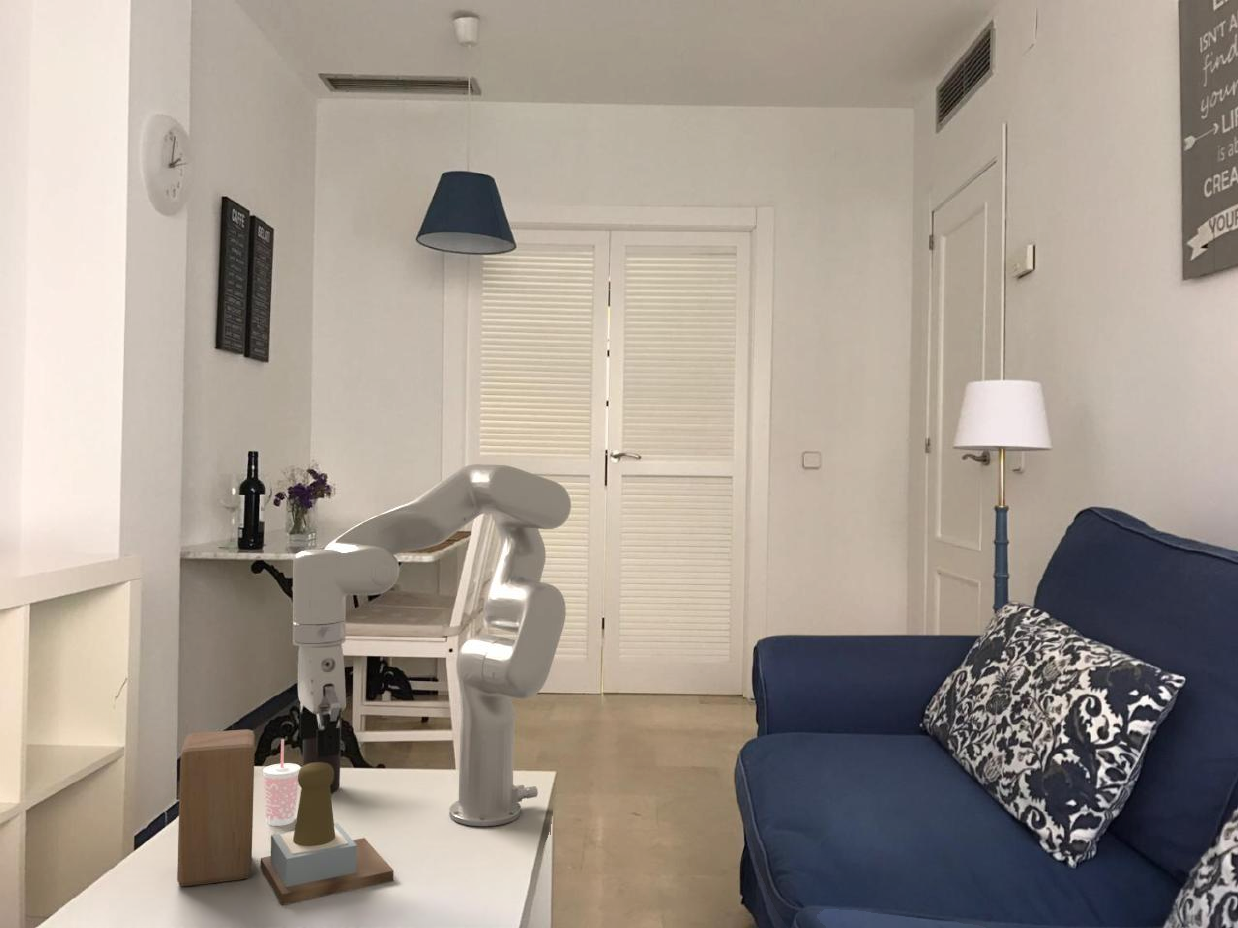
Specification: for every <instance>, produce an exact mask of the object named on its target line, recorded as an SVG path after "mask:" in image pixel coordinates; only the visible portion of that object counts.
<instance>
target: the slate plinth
mask: <svg viewBox="0 0 1238 928" xmlns="http://www.w3.org/2000/svg"><path fill="white" fill-rule="evenodd" d="M334 829H335V838H334V839H333V840H332V841H330V842H329V843H326V844H323V845H317V846H302V845H298V844H296V843H294V842H293V837H294V831H295V830H292V831H291V830H290V831H284V832H280V833H275V834H271V835H270V856H271V860H270V861H271V863H272V865H273V866H274V868H275V870H276V871H277V873H278V875H279V876H280V878H281V880H282V881H283V883H284V884H285V886H286V887H289V886H294V885H299V884H304V883H308V882H313V881H318V880H323V879H327V878H332V877H337V876H342V875H346V874H351V873H356V859H357V845H356V844H355V843H354V841H353V840H354V839H352V838H351V837H350V835H349V834H348V833H347V832H346V831H345V830H344V828H343V827H342V826H341V825H340V824H339V823H338V822H334Z"/></svg>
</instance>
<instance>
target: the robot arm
mask: <svg viewBox="0 0 1238 928" xmlns="http://www.w3.org/2000/svg"><path fill="white" fill-rule="evenodd" d="M571 509H572V503H571V498H570V495H569V493H568V491H567V490H566V488H564V486H563V485H562V484H560V483H558V482H556V481H554V480H552V479H548V478H545V477H543V476H539V475H537V474H535V473H531V472H529V471H526V470H523V469H521V468H517V467H514V466H510V465H507V464H481V463H479V464H478V463H477V464H468V465H466V466H463V467H461V468H459V469H457V470H456V471H455V472H453V473H452V474H451V475H449V476H448V477H446V478H444V479H443V480H442V481H441V482H439V483H438V484H436V485H435V486H433V487H432V488H430V489H429V490H427V491H426V492H424V493H423V494H421V495H420V496H418V497H417V498H415V499H414V500H412V501H411V502H408V503H405V504H403V505H399V506H397V507H395V508H393V509H390V510H387V511H386V512H383V513H381V514H378V515H375V516H373V517H370V518H369V519H367V520H364V521H363V522H361V523H358V524H357V525H355V526H354V527H351V528H350V529H349V530H347V531H346V532H344V533H343V534H341V535H339V536H337V538H335V539H333V540H332V541H331V542H330V543H328V545H326V547H325V548H324V549H323V548H322V549H321V548H320V549H319V548H318V549H317V548H315V549H307V550H306V549H305V550H302V551H299V552H297V553H296V554H295V555H294V556H293V561H292V645H293V646H295V647H298V653H297V654H298V658H297V659H298V660H297V697H298V701H299V702H300V703H299V712H300V713H299V739H300V740H302V741H303V740H304V739H310V738H317V756H318V757H319V758H321V757H327V756H333V755H338V754H339V753H340V754H341V751H340V721H339V719H340V716H339V710H340V711H342V712H343V711H344V710H345V709H346V707H347V697H346V695H347V694H346V676H345V675H346V674H345V673H346V672H345V660H344V653H343V652H344V651H343V645H342V644H344V643H345V642H346V616H347V615H346V613H347V612H346V607H347V605H346V603H347V602H346V601H347V600H346V598H347V596H376V595H381V594H384V593H385V592H388V591H389V590H391V589H392V588H393V587H394V585H395V584H397V583H396V582H397V581H398V579H399V576H400V565H399V562H398V559H397V558H396V556H395V555H398V554H401V553H407V552H411V551H418V550H424V549H428V548H431V547H435V546H439V545H441V544H442V543H445V542H446V541H447V540H448V539H450V538H451V537H452V536H454V535H455V534H456V533H458V532H459V531H460V530H461V529H462V528H464V527H465V526H467V525H469V524H470V523H471V522H472V521H473V520H475V519H476V518H478V517H479V516H481V515H483V514H490V515H491V517H492V520H493V521H494V523H495V526H496V528H497V532H498V533H499V538H500V552H499V556H498V559H497V563H496V565H495V568H494V572H493V575H492V578H491V581H490V584H489V587H488V590H487V592H486V595H485V598H484V602H483V609H482V614H483V615H482V616H483V618H484V620H485V622H486V623H487V624H488V625H489V626H491V627H492V628H493V629H497V630H501V631H505V632H508V633H509V632H510V633H514V634H516V637H515V639H511V638H507V637H501V636H496V635H491V634H482V635H481V634H479V635H476V636H475V635H474V636H472V637H470V638H469V639H467V640H466V641H465V642H464V643H463V644H462V645H461V646H460V648H459V649H458V652H457V656H456V664H455V665H456V666H455V667H456V668H455V669H456V676H457V682H458V689H459V695H460V696H459V697H460V726H459V727H460V728H459V729H460V730H459V731H460V733H459V739H460V740H459V769H458V771H459V776H458V800H456V801H455V802H454V803H452V804H451V805H450V807H449V817H450V818H451V819H452V820H453V821H455V822H456V823H459V824H462V825H466V826H472V827H494V826H495V827H496V826H500V825H505V824H507V823H508V824H509V823H510V822H513V821H515V820H517V819H518V818H519V817H520V815H521V813H522V806H521V804H520V802H522V801H523V799H524V800H525V799H531V798H532V799H533V798H536V797H537V796H538V788H537V786H535V785H534V786H528V787H526V786H525V784H520V785H519V784H518V785H514V758H515V757H514V756H515V755H514V754H515V753H514V751H515V725H516V724H515V723H516V722H515V721H516V720H515V715H516V714H515V709H514V704H513V699H512V698H514V699H515V698H516V699H520V700H521V699H523V700H524V699H531V698H533V697H534V696H536V695H537V694H538V693H540V691H541V690H542V689H543V687H544V685H545V683H546V682H547V679H548V677H549V674H550V672H551V669H552V666H553V662H554V658H555V655H556V652H557V648H558V646H559V643H560V639H561V636H562V632H563V628H564V626H565V621H566V613H567V611H566V602H565V598H564V596H563V594H562V592H561V591H560V590H559V589H558V588H557V587H556V586H554V584H551V583H548V582H542V581H541V579H542V575H543V572H544V568H545V565H546V557H547V556H546V555H547V553H546V552H547V551H546V547H545V543H544V540H543V537H542V535H541V532H540V530H539V529H541V530H553V529H556V528H557V529H558V528H559V527H561V526H562V525H564V524H565V522H566V521H567V520H568V518H569V516H570V513H571V511H572V510H571ZM321 707H326V708H321ZM325 714H326V716H325V719H324V720H323V715H325Z"/></svg>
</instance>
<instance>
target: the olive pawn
mask: <svg viewBox="0 0 1238 928" xmlns="http://www.w3.org/2000/svg"><path fill="white" fill-rule="evenodd" d="M302 766H303V765H302ZM302 766H300V767H301V769H300V770H299V773H298V786H299V787H300V788H301V790H300V795H299V802H298V807H297V814H296V818H295V826H294V830H293V831H294V837H293V842H294V843H296V844H298V845H302V846H317V845H323V844H326V843H329V842H330V841H332V840H333V839H334V838H335V829H334V823H335V822H334V813H333V804H332V803H333V802H332V801H333V800H332V795H331V792H330V785H331V784H332V782H333V779H334V770H333V768H332V766H331V765H330V764H327V763H323V762H314V763H309V764H306V765H304V766H303V767H302Z"/></svg>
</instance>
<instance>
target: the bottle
mask: <svg viewBox="0 0 1238 928" xmlns="http://www.w3.org/2000/svg"><path fill="white" fill-rule="evenodd" d="M321 708H326V707H321ZM342 713H343V710H342V711H340V710H339V716H340V719H339V721H340V753H339V754H338V755H333V756H327V757H321V758H319V757H318V756H317V738H310V739H304V740H302V765H301V767H303V766H304V765H306V764H309V763H314V762H323V763H327V764H330V765H331V766H332V768H333V770H334V779H333V782H332V784H331V785H330V792H331V794H335V793H336V792H337V791H338V790H339V789H340V783H341V782H340V779H341V747H342V746H341V744H342ZM325 716H326V714H325V715H323V720H324V719H325Z"/></svg>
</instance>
